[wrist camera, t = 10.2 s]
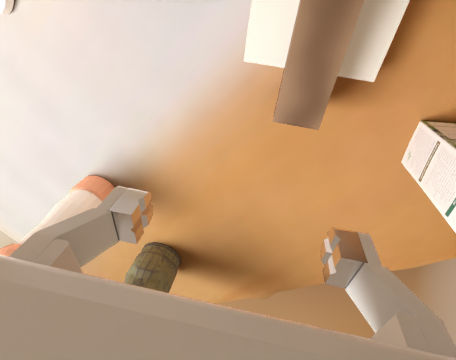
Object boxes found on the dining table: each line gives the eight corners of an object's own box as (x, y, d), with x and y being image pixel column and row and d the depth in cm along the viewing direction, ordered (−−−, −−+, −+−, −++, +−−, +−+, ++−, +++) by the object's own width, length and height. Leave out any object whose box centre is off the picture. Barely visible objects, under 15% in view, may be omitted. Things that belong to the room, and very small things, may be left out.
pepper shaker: (95, 168, 42) (-17, 259, 27) (127, 197, 45) (41, 296, 29) (75, 185, 46) (-33, 275, 30) (106, 211, 48) (20, 306, 33)
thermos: (153, 231, 49) (-33, 535, 20) (193, 266, 53) (84, 561, 24) (129, 245, 53) (-52, 511, 25) (168, 276, 57) (50, 537, 29)
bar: (274, 110, 27) (273, 121, 24) (318, -82, 19) (324, -98, 16) (315, 117, 27) (318, 130, 24) (379, -76, 18) (396, -92, 15)
